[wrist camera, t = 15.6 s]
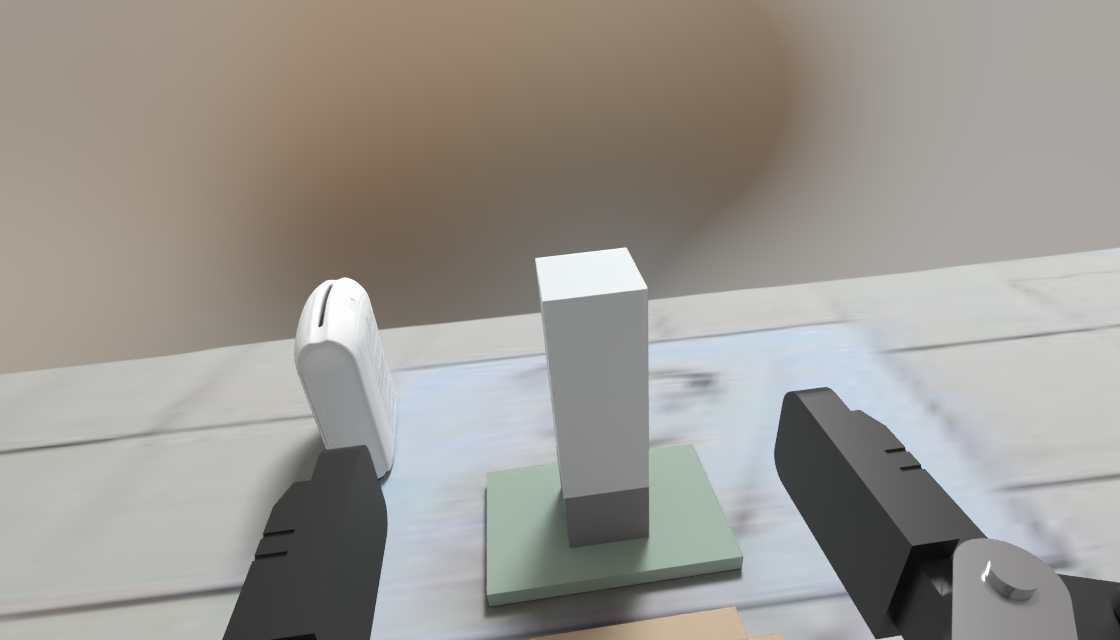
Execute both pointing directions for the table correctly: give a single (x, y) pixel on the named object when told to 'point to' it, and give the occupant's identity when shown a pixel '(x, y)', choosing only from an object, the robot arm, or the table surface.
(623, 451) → the box
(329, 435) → the photo printer
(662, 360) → the table surface
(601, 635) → the open carton
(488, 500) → the rubber mat
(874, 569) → the robot arm
